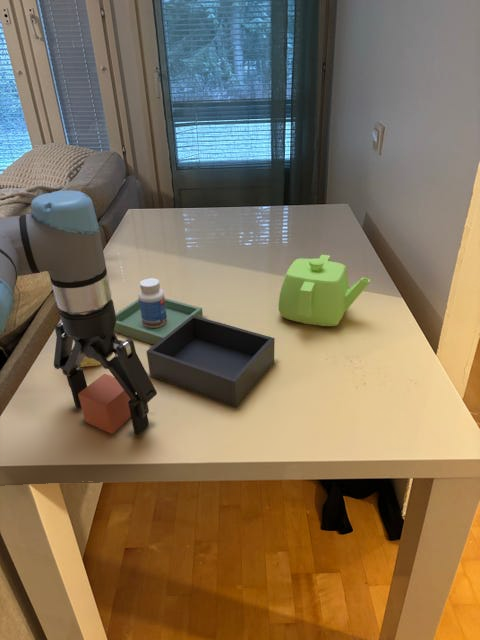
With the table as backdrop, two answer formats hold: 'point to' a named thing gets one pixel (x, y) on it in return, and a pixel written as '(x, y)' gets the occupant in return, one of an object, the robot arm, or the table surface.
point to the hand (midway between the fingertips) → (111, 415)
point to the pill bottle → (152, 303)
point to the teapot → (317, 291)
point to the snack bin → (212, 359)
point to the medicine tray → (133, 327)
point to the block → (105, 404)
